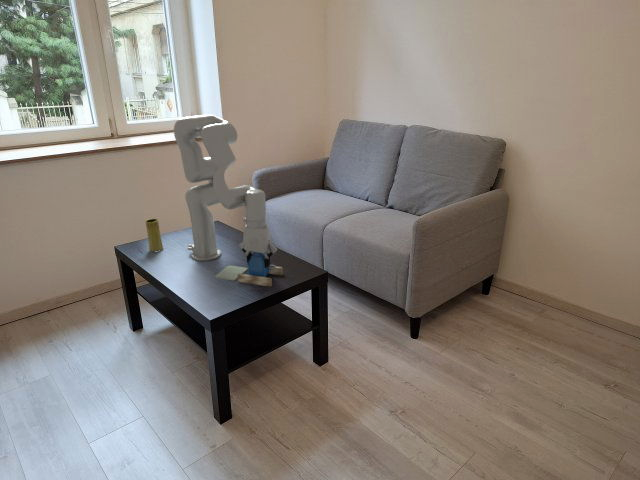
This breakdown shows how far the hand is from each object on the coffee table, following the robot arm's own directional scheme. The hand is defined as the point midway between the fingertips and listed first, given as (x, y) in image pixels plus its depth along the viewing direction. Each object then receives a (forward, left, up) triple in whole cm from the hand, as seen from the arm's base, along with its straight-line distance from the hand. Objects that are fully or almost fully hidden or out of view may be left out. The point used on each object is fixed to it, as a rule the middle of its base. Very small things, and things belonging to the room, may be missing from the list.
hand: (258, 264), depth 173 cm
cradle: (+1, 0, -5) cm, 5 cm away
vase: (-58, +12, -6) cm, 60 cm away
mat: (-12, 0, -5) cm, 14 cm away
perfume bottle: (0, 0, -4) cm, 4 cm away
